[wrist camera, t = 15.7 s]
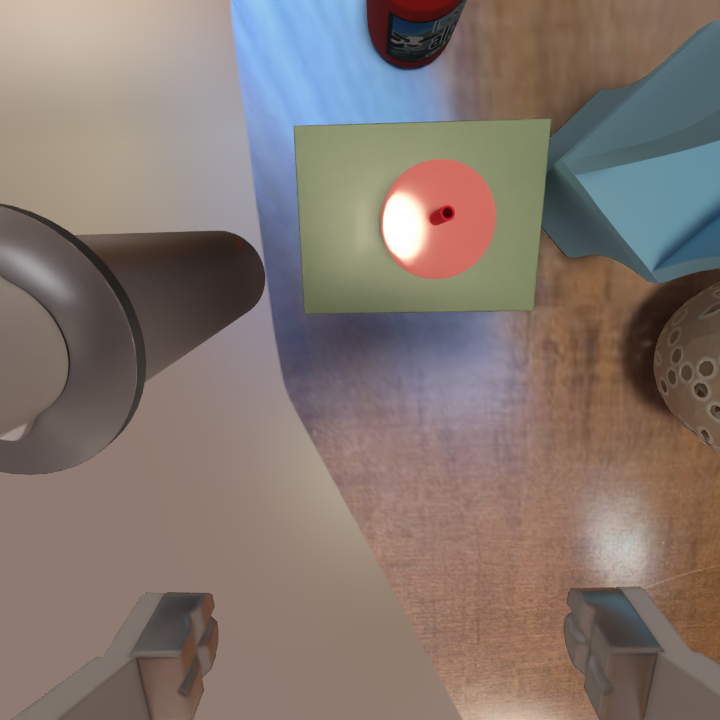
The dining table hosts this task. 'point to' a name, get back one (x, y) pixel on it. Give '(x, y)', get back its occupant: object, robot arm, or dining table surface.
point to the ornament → (692, 365)
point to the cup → (438, 219)
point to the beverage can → (412, 28)
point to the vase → (644, 169)
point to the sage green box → (365, 201)
